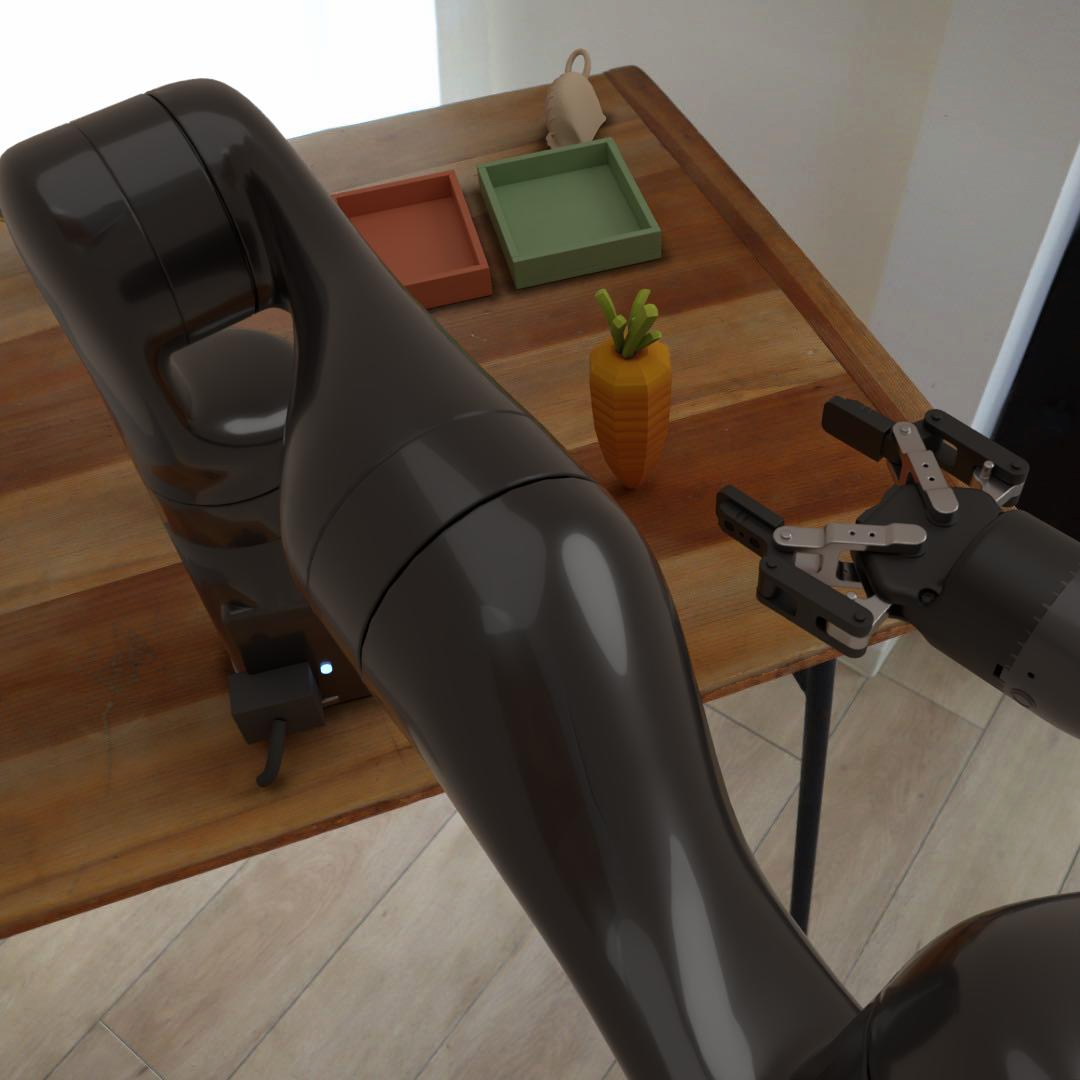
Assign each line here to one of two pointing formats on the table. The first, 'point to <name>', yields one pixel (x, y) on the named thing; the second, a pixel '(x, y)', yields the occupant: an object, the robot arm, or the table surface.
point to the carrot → (630, 391)
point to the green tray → (568, 212)
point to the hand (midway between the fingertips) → (774, 454)
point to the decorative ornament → (572, 106)
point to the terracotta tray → (422, 236)
